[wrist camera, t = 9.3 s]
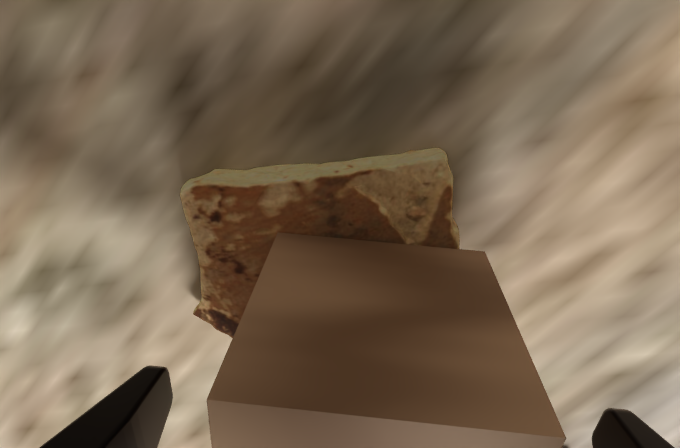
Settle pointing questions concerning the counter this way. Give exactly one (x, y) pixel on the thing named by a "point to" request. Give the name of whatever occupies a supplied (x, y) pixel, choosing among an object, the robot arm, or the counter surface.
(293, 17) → the counter surface
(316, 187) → the shard
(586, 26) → the counter surface
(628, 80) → the counter surface
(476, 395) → the walnut block
